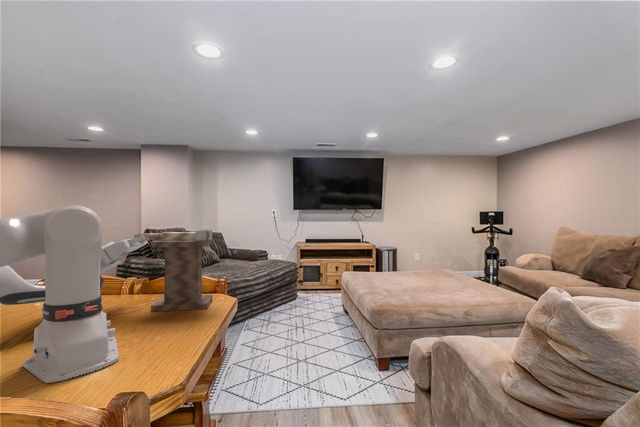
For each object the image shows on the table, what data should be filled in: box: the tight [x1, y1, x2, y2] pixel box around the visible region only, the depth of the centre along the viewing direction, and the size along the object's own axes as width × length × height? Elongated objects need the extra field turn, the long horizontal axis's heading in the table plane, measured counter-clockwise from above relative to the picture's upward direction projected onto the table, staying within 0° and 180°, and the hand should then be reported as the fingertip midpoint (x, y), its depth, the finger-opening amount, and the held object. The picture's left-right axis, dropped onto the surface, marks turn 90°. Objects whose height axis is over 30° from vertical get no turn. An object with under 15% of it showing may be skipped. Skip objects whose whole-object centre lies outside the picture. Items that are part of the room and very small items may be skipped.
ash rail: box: [133, 231, 195, 241], centre depth 116 cm, size 26×4×3 cm, turn 101°
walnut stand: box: [150, 238, 214, 312], centre depth 117 cm, size 20×12×26 cm, turn 101°
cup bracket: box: [194, 229, 213, 241], centre depth 119 cm, size 5×8×4 cm, turn 11°
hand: (148, 235), depth 115 cm, fingers open, 6 cm apart
